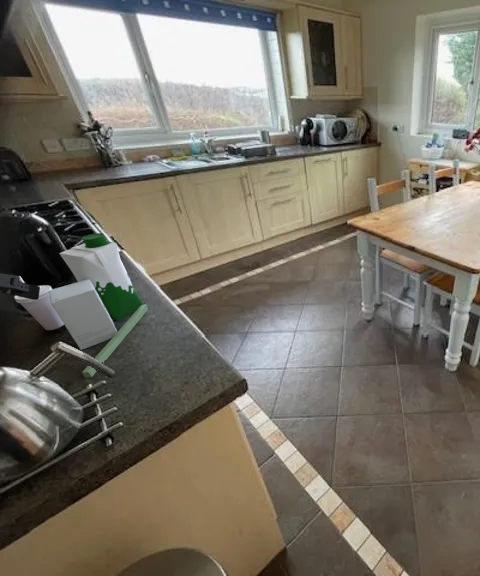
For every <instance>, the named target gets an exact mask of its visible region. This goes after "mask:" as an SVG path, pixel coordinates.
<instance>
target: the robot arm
mask: <svg viewBox="0 0 480 576" xmlns="http://www.w3.org/2000/svg"><path fill="white" fill-rule="evenodd" d="M19 276H20V275H13V274H6V273H0V292H1V293H2V294H4V296H10V295H11V296H14V297H15V296H19V297H24V298H29V299H33V300H38V298H39V291H40V287H38V286H39V285H34V284H31V283H26V282H24V283H23V282H20V281H19V279H20V277H21V276H20V277H19Z"/></svg>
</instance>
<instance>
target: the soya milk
mask: <svg viewBox="0 0 480 576" xmlns="http://www.w3.org/2000/svg"><path fill="white" fill-rule="evenodd" d="M82 240H83V243H82V244H78V245H76V246H73V247H70V249H67V250H64V251H61V252H60V253H58V254H59V255H60V257H61V258H62V259H63V261H64V263H65V264H66V265H67V267H68V268H69V270H70V271H71V273H72V274H73V276H74V278H75V279H76V281H77V282H80V281H83V280H87V279H90V281H91V283H92V284H93V286H94V288H95V290H96V291H97V293H98V295H99V297H100V299H101V301H102V302H103V304H104V306H105V308H106V310H107V312H108V314H109V315H110V317H111V319H112V321H116V322H120V321H122V320H123V319H124V318H126V317H128V316H129V315H131V314H134V313H135V312H136V311H137V310H138V308H139V307H140V306H141V305H144V303H143V301H142V299H141V297H140V295H139V294H138V291H137V290H136V287H134V284H133V282H132V280H131V277H130V275H129V274H128V272H127V270H126V268H125V265H124V264H123V261H122V259H121V256H120V252H119V248H118V247H119V246H118V243H117V242H112V241H109V240H108V239H107V238H106V236H105V234H104V232H103V233H101V232H97V233H91V234H88V235H85V236H83V237H82Z"/></svg>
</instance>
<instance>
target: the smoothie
mask: <svg viewBox="0 0 480 576" xmlns="http://www.w3.org/2000/svg"><path fill="white" fill-rule="evenodd" d="M18 276H19V277H20V279H19V282H23V283H25V281H24V280H23V278H22V277H21V276H20V275H18ZM37 286H38V287H40V291H39V298H38V300H33V299H29V298H24V297H19V296H15V295H14V297H13V298H14V300H15V301H16V303H18V304H20V305H21V306H22V307H23V308H24V309H25V310H26V311H27V312H28V313H29V314H30V315H31V316H32V317H33V318H34V319H35V320H36V321H37V322H38V323H39V325H41V327H43V329H45V331H53V330H57V329H60V328H61V327H63V326H65V325H64V323H63V322H62V320H61V319H60V317H59V316H58V314H57V312H56V311H55V309H54V308H53V306H52V305H51V301H50V297H49V292H48V291H50V290H53V289H54V288H52V286H51V285H48V284H47V285H45V284H44V285H37Z"/></svg>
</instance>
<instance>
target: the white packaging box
mask: <svg viewBox="0 0 480 576" xmlns="http://www.w3.org/2000/svg"><path fill="white" fill-rule="evenodd" d="M52 289H53V290H50V291H48V292H49V297H50V301H51V305H52V306H53V308H54V309H55V311H56V312H57V314H58V316H59V317H60V319H61V320H62V322H63V323H64V325H63V326H65V328H66V330H67V331H68V333H69V334H70V335H71V338H72V339H73V340H74V343H76V345H77V347H78V348H79V350H80V351H82V350H85V349H87V348H90V347H93V346H96V345H99V344H101V343H103V342H106V341H108V340H109V341H110V340H111V339H112V338H113V337H114V336H115V334H116V333H117V332H118V329H117V328H116V326H115V323H114V320H112V319H111V317H110V315H109V314H108V312H107V310H106V308H105V306H104V304H103V302H102V301H101V299H100V297H99V295H98V293H97V291H96V290H95V288H94V286H93V284H92V283H91V281H90V279H87V280H83V281H80V282H78V281H77V282H73V283H71V284H68V285H64V286H61V287H56V288H52Z"/></svg>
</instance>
